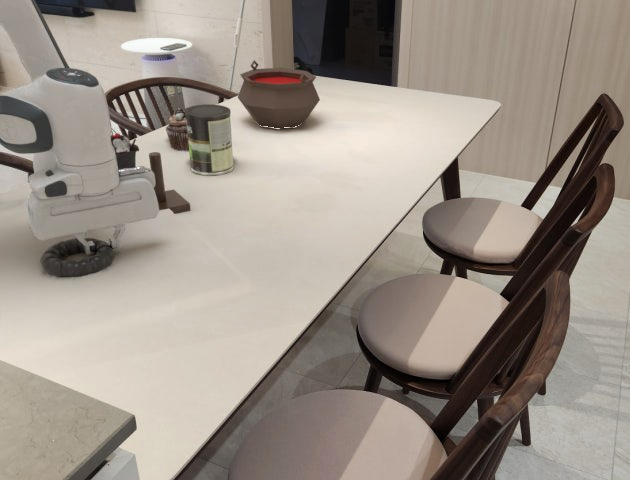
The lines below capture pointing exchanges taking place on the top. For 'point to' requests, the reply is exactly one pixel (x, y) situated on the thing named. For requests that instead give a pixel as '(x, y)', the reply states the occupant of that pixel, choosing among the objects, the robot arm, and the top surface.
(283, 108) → the cauldron
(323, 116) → the top surface
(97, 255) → the tire
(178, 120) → the cupcake
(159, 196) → the peg stand
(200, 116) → the coffee can
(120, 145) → the sundae
